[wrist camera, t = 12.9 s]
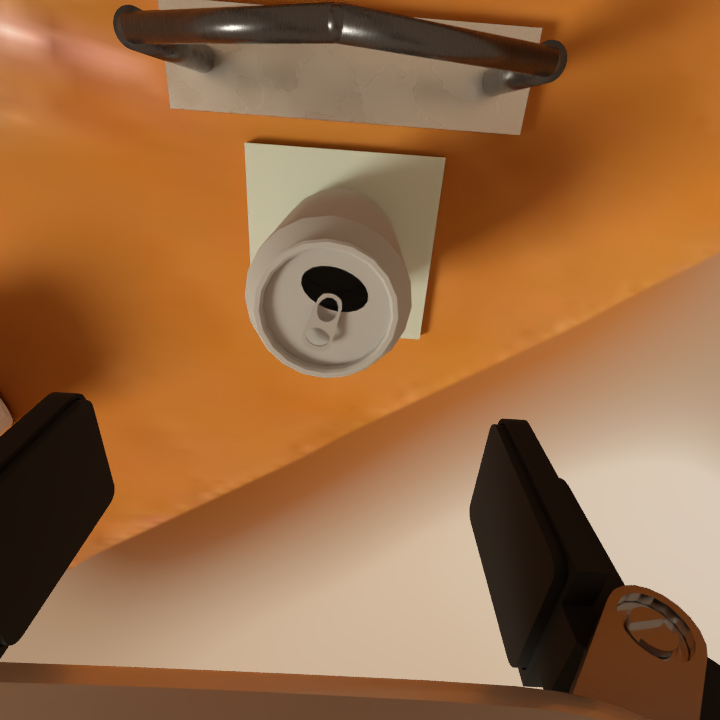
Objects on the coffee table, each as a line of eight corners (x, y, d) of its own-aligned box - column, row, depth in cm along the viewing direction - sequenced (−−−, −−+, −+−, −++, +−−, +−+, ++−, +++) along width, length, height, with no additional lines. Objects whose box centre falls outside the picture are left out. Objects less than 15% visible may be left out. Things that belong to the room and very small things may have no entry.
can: (415, 214, 28) (448, 266, 17) (370, 316, 31) (375, 413, 20) (302, 166, 27) (262, 191, 16) (268, 278, 30) (216, 361, 19)
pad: (246, 142, 27) (244, 142, 26) (444, 157, 27) (445, 157, 26) (255, 325, 32) (253, 328, 32) (418, 335, 32) (419, 339, 32)
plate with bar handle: (165, 1, 23) (-42, -131, 12) (536, 31, 24) (706, -65, 12) (177, 108, 26) (14, 92, 14) (514, 134, 26) (639, 140, 14)
